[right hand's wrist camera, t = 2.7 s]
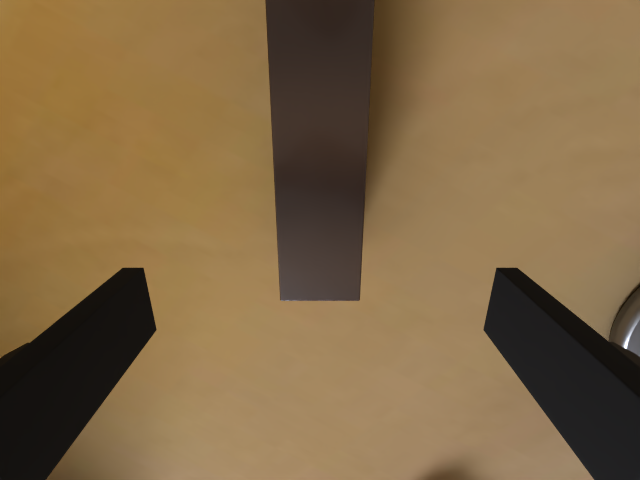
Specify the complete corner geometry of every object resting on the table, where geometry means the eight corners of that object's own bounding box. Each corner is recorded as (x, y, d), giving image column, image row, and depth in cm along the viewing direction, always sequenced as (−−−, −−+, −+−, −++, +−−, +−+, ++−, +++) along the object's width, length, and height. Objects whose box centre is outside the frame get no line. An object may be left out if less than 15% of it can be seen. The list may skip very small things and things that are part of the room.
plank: (271, -285, 17) (237, -550, 10) (368, -284, 17) (401, -551, 10) (290, 253, 28) (280, 301, 21) (349, 253, 28) (359, 301, 21)
